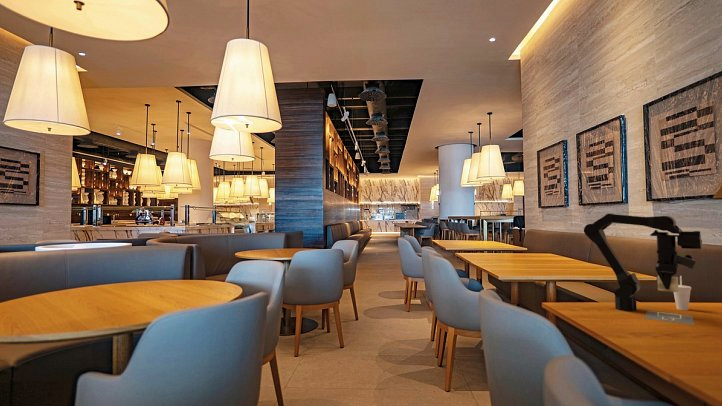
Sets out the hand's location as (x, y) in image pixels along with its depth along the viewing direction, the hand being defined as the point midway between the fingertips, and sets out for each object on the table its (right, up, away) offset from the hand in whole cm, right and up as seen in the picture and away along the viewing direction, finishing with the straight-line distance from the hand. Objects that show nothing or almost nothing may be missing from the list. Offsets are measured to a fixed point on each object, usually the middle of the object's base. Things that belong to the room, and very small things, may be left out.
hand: (667, 288), depth 144 cm
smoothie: (+17, -12, +13) cm, 24 cm away
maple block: (0, -1, 0) cm, 1 cm away
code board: (-2, -12, -2) cm, 12 cm away
